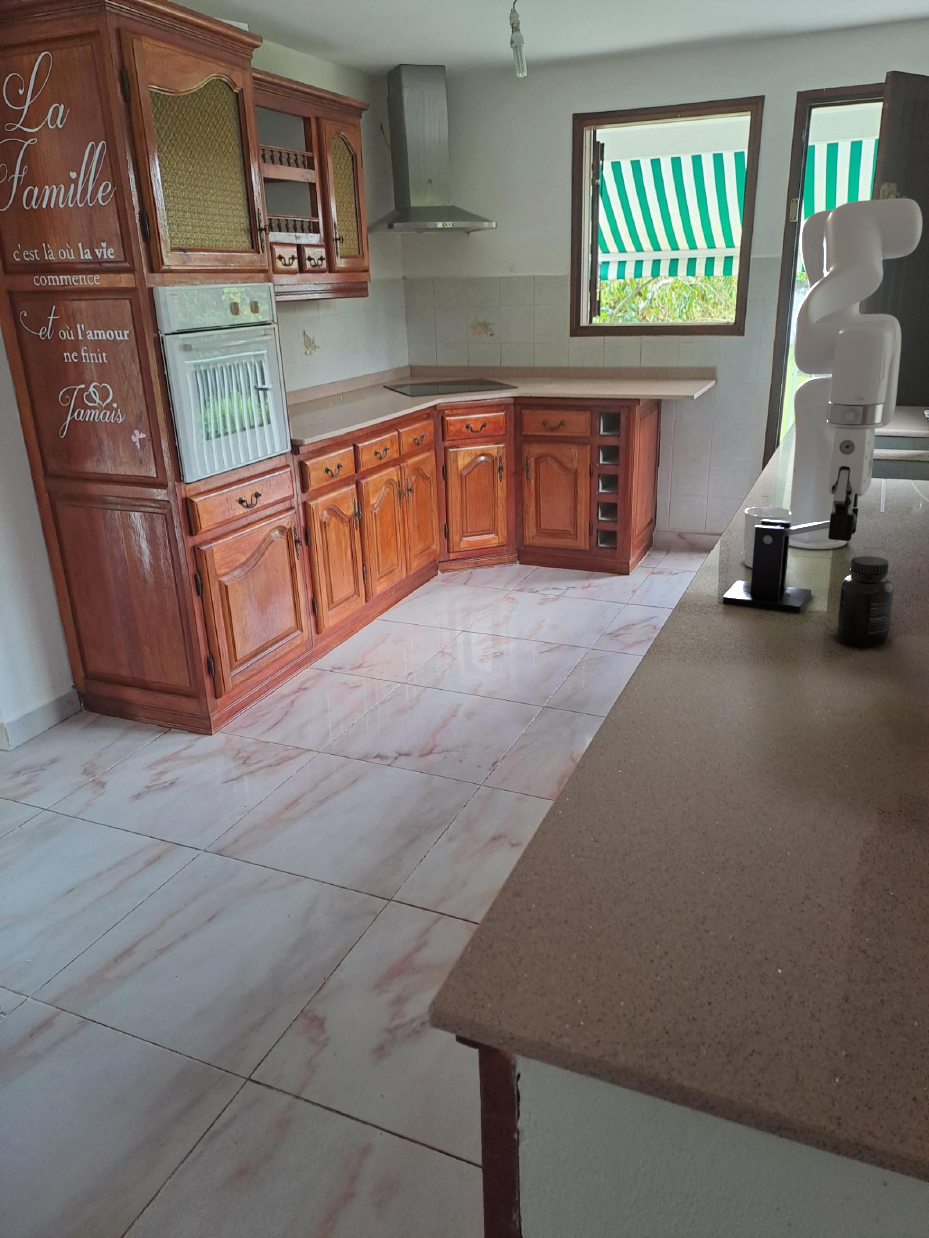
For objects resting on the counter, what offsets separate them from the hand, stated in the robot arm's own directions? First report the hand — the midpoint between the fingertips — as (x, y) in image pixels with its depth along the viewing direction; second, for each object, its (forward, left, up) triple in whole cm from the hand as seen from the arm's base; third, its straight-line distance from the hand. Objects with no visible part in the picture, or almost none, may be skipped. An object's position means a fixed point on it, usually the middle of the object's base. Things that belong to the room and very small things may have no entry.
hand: (841, 535), depth 135 cm
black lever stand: (0, -10, -12) cm, 16 cm away
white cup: (-19, -15, -12) cm, 27 cm away
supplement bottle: (+12, +6, -12) cm, 18 cm away
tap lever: (0, -4, -1) cm, 4 cm away
